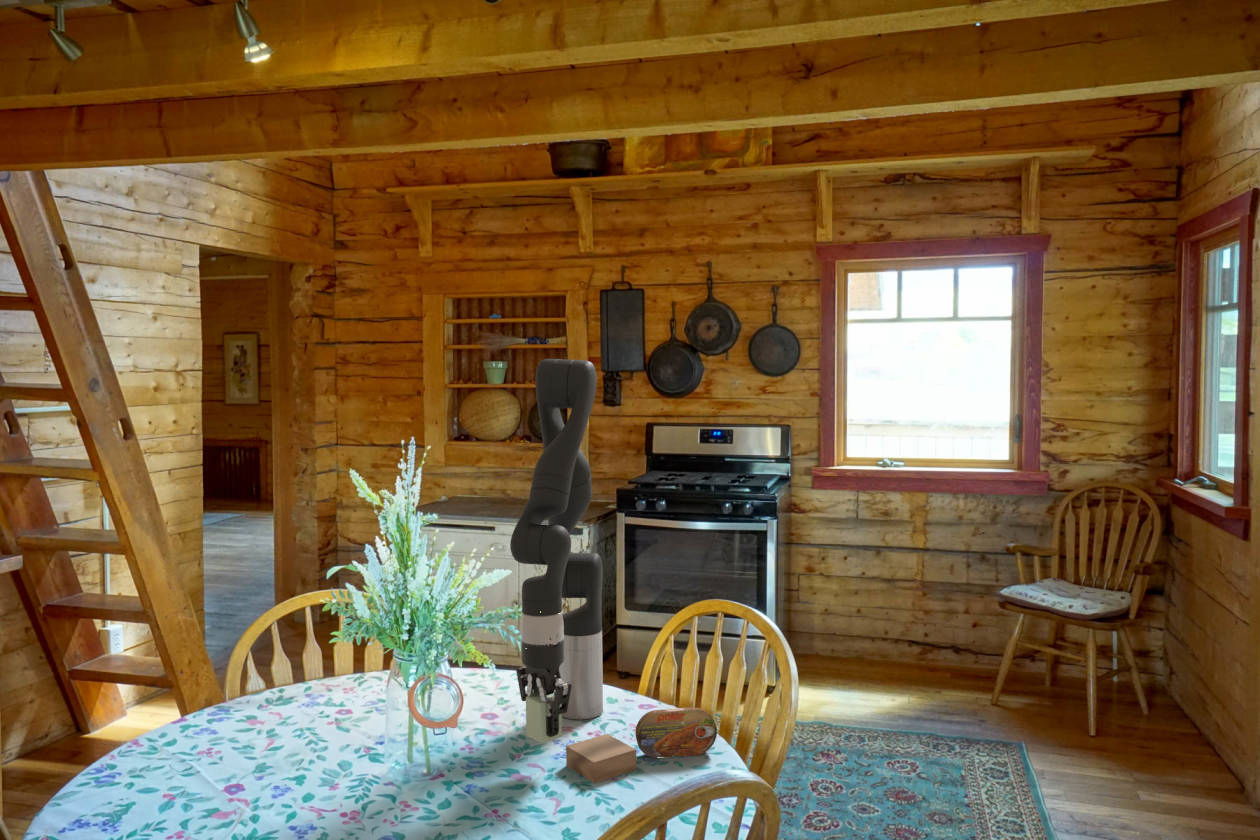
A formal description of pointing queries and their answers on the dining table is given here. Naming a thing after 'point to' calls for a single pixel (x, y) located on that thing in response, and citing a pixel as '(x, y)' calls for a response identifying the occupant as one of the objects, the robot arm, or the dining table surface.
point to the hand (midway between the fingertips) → (544, 730)
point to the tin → (675, 732)
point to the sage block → (538, 719)
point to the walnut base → (601, 758)
